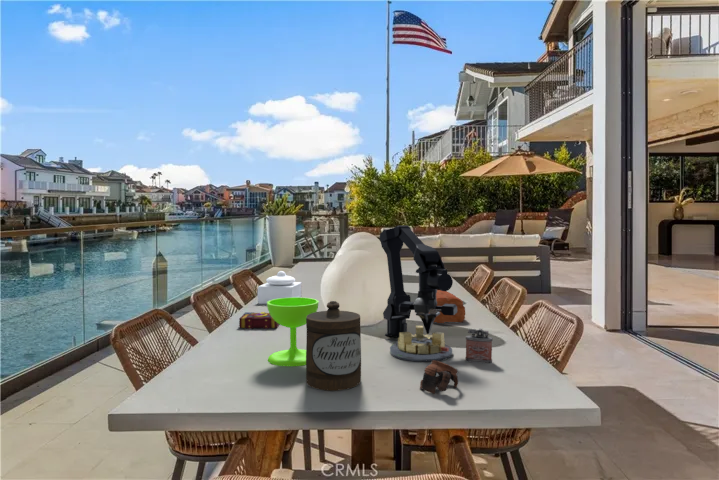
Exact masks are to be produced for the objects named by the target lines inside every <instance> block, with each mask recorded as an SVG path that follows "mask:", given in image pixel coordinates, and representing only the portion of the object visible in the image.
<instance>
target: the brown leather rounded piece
mask: <svg viewBox="0 0 719 480" xmlns="http://www.w3.org/2000/svg"><path fill="white" fill-rule="evenodd" d="M423 371H424V372H423V376H422V379H421V380H420V386H419V389H422V390H424V391H426V392H428V393H430V394H433V395H434V394H436V391H437V390H438V391H440V392H446V391H447V390H448V387H449V384H450V382H451V381H452V382H453V388H457V387H458V382H459V381H458V375H457V374H458V373H459V371H458V369H457V368H455V367H453V366H452V365H450V364H447V363H445V362H442V361H434V360H432V361H431V362H430V363H429V364H428V365H427V366H426V367H425V368H424V370H423ZM437 374H438V376H437Z"/></svg>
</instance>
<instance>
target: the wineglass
mask: <svg viewBox="0 0 719 480" xmlns="http://www.w3.org/2000/svg"><path fill="white" fill-rule="evenodd" d="M319 301H320V300H318V299H316V298H311V297H301V298H300V297H291V298H279V299H273V300H270V301H268V302H267V304H266V306H267V311H268V313H270V315H271V317H272V318H273V319H274V320H275V321H276V322H277V323H279V325H280V326H282V327H285V328H288V329H289V335H290V336H289V341H290V342H289V344H290V346H289V349H282V350H279V351H275V352H273V353H271V354H270V355H269V356H268V357H267V362H268V363H269V364H271V365H274V366H277V367H278V366H279V367H289V368H290V367H303V366H306V349H301V348H298V347H297V328H300V327H303V326H305V325H306V317H307V315H309V314H311V313H314V312H318V309H319V303H320V302H319Z"/></svg>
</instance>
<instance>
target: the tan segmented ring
mask: <svg viewBox="0 0 719 480" xmlns="http://www.w3.org/2000/svg"><path fill="white" fill-rule="evenodd" d="M424 330H425V327H424V325H415V333H414V334H412V332H410V331H407V332H400V337H397V343H398V349H399V350H402V351H404V352H408V353H414V354H416V353H418V354H428V353H430V354H432V353H439V352H441V351H446V352H448V351H449V348H447V347H445V345H446V340H445V332H441V331H434V332H432V334H424ZM412 338H428V339H431V340H432V343H412Z"/></svg>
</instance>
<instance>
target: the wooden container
mask: <svg viewBox="0 0 719 480" xmlns="http://www.w3.org/2000/svg"><path fill="white" fill-rule="evenodd" d="M326 308H327V310H320V311H317V312H314V313H311V314H309V315H307V317H306V324H305V325H306V348H305V350H306V365H305V371H306V372H305V374H306V375H305V376H306V377H305V379H306V381H305V382H306V384H307V385H308V386H309V387H310V388H313V389H316V390H321V391H328V392H329V391H330V392H333V391H334V392H335V391H345V390H350V389H352V388H355V387H357V386H358V385H360V383H361V382H362V343H361V341H362V340H361V339H362V338H361V334H362V333H361V315H360V314H359V313H358V312H355V311H349V310H348V311H347V310H340V309H339V308H340V303H339V302H338V301H336V300H330V301H329V302H328V303H327V304H326Z"/></svg>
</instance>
